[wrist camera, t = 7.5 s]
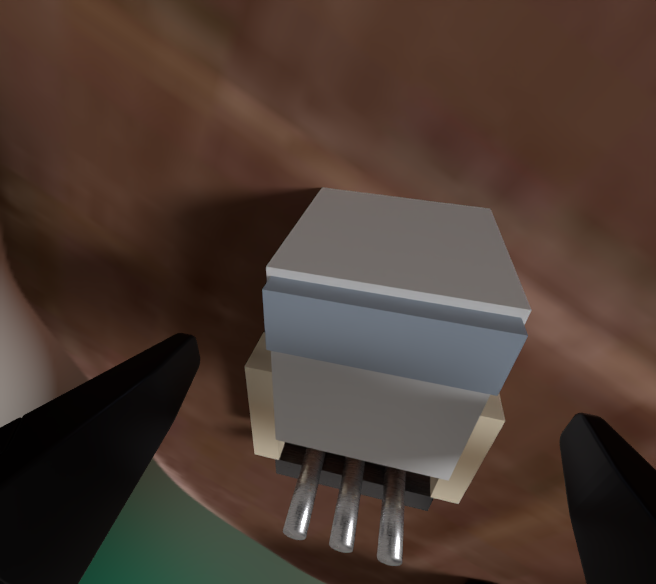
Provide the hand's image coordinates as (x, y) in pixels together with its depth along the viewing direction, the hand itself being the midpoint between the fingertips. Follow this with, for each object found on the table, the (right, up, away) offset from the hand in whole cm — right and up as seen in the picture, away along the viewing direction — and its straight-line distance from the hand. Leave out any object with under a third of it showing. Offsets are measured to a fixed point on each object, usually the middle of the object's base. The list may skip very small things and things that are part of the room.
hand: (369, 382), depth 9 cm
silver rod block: (0, -6, +10) cm, 11 cm away
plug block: (+1, +3, +4) cm, 5 cm away
